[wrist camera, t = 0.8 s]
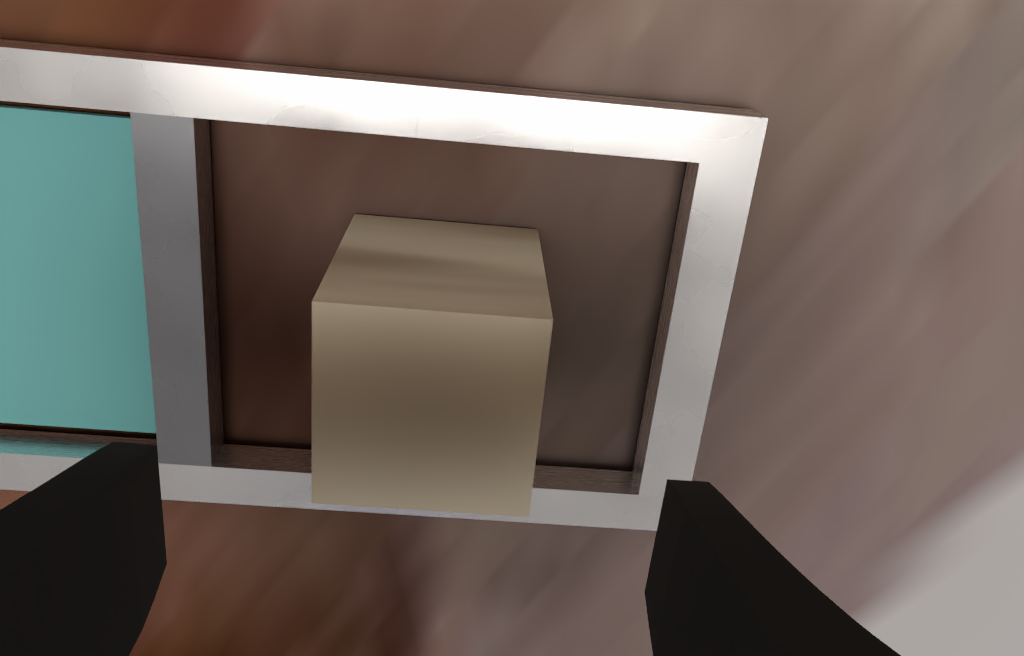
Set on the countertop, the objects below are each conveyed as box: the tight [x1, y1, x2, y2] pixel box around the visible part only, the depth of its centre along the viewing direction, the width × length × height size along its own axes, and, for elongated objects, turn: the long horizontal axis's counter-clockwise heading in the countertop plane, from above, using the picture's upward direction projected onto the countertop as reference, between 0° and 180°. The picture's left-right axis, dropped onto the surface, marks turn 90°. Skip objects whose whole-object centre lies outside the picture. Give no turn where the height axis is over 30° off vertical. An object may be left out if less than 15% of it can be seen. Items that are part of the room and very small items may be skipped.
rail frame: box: [0, 39, 768, 531], centre depth 19 cm, size 10×24×1 cm, turn 85°
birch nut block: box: [311, 214, 553, 517], centre depth 18 cm, size 4×4×5 cm
